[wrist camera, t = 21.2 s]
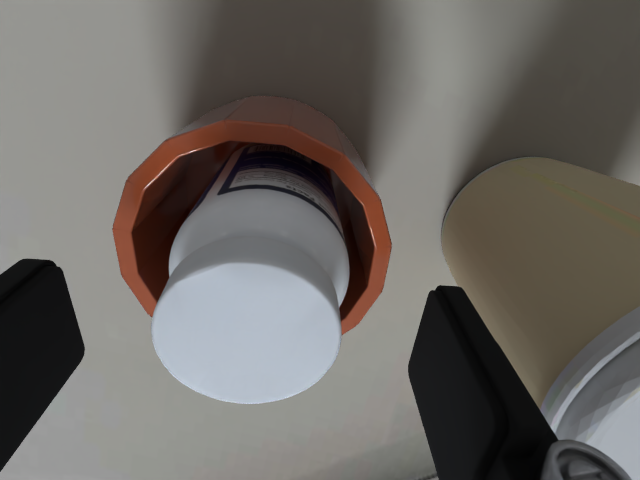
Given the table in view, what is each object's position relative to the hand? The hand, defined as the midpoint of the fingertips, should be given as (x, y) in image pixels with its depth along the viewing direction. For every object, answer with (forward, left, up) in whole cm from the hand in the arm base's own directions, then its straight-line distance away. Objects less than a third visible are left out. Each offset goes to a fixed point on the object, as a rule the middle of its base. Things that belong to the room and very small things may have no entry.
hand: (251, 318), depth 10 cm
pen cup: (0, 0, -10) cm, 10 cm away
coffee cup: (-12, +1, -10) cm, 16 cm away
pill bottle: (0, 0, -9) cm, 9 cm away
